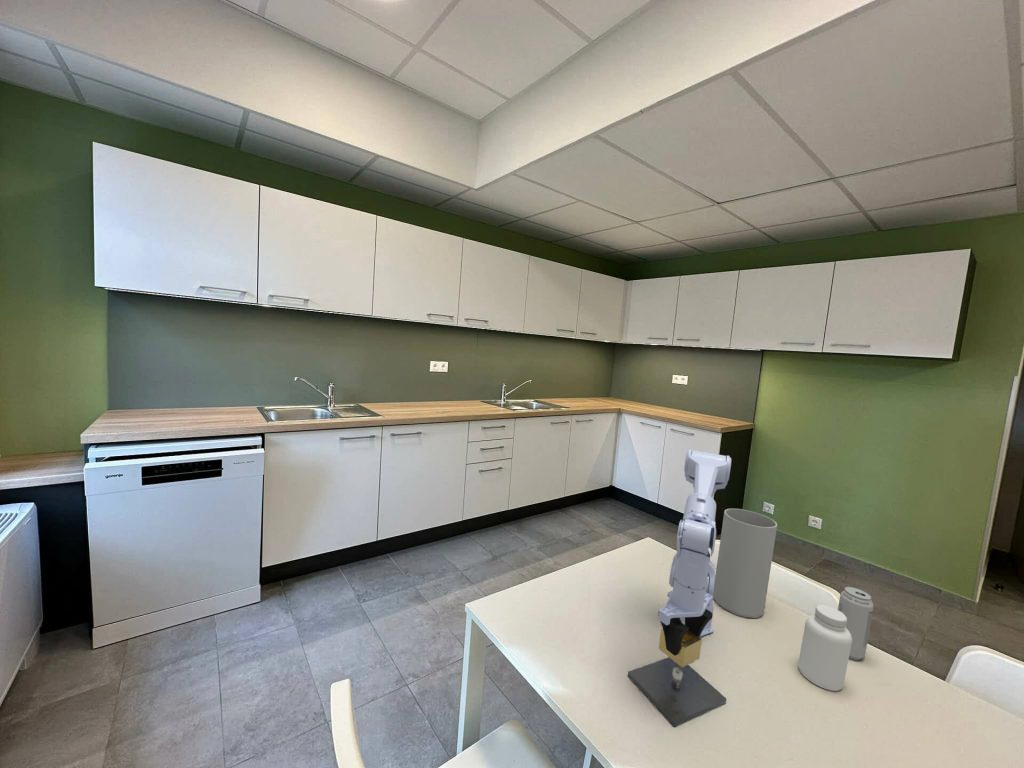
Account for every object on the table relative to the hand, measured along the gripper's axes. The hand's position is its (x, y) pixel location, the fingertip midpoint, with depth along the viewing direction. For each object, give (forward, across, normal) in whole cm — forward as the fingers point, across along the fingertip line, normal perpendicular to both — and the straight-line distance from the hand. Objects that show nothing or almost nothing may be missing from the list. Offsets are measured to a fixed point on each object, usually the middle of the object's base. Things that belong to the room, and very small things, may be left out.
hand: (681, 647), depth 80 cm
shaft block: (+9, 0, 0) cm, 9 cm away
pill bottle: (+9, -33, +12) cm, 36 cm away
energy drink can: (+9, -49, +12) cm, 51 cm away
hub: (+2, 0, 0) cm, 2 cm away
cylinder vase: (+9, -42, -11) cm, 45 cm away
